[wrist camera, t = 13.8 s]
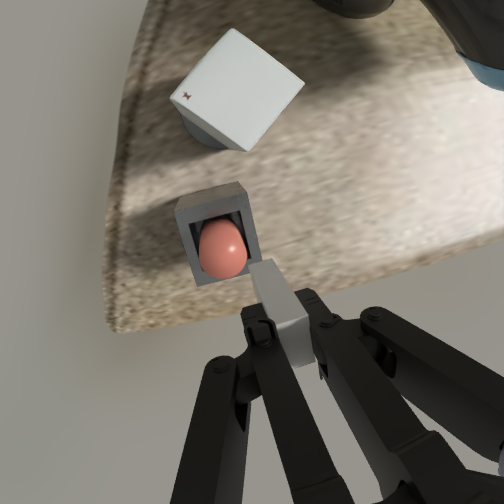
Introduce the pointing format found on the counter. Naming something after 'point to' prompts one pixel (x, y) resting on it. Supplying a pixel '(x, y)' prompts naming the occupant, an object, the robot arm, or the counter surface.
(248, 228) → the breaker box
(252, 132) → the supplement box
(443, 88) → the counter surface
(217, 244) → the button
